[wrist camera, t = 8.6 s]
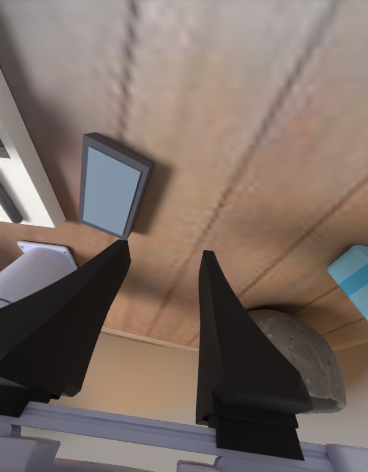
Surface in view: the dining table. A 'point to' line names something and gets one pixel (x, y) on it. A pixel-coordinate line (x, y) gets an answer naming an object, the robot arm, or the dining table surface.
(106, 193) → the phone
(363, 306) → the blue upright slab
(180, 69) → the dining table surface
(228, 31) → the dining table surface
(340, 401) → the bowl
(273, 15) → the dining table surface
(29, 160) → the white flat block
